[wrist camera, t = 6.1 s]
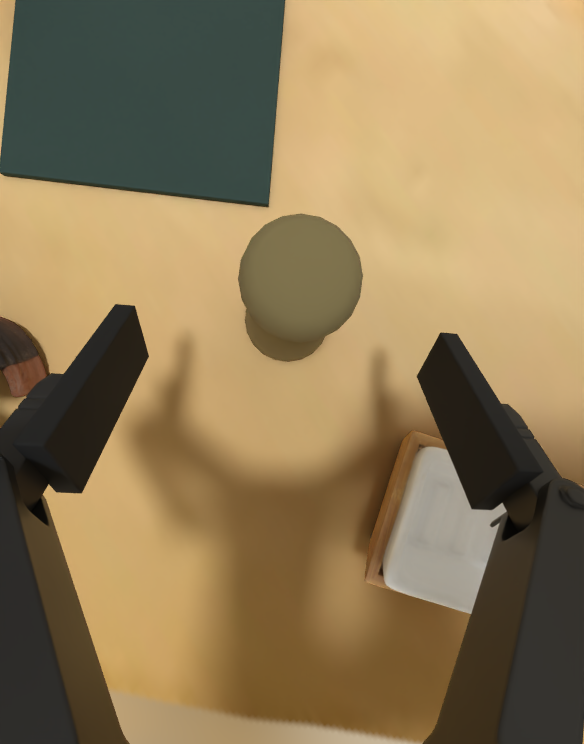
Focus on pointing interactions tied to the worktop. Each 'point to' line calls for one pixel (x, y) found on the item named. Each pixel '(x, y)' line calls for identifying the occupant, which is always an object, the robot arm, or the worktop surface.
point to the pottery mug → (19, 359)
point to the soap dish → (430, 530)
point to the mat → (145, 95)
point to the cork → (298, 285)
